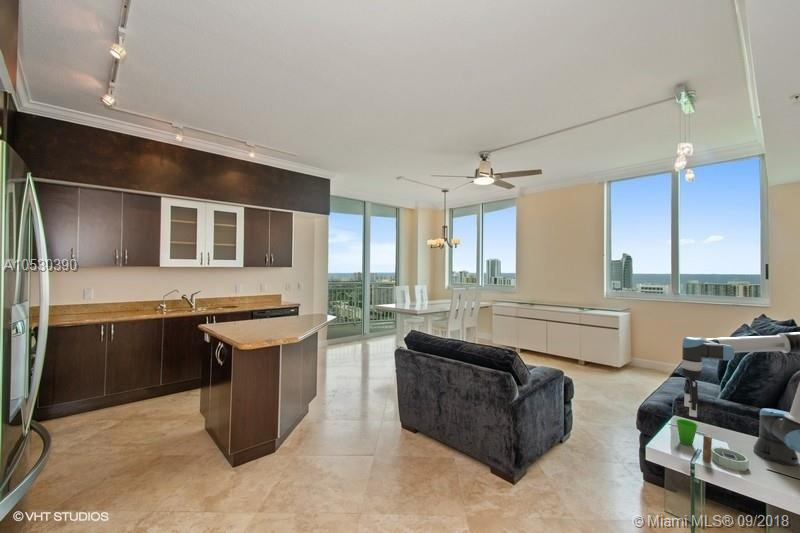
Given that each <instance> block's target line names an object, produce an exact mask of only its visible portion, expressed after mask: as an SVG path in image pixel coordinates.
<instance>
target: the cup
mask: <svg viewBox="0 0 800 533" xmlns="http://www.w3.org/2000/svg"><path fill="white" fill-rule="evenodd" d="M675 421H676V425H677V432H678V438H679V442H680V443H681V444H682V445H685V446H693V444H694V440H695V437H696V433H697V430H698V427H699V424H698V423H697V422H694V421H692V420H688V419H686V418H685V419H684V418H677V419H676V420H675Z"/></svg>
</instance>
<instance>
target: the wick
mask: <svg viewBox="0 0 800 533" xmlns="http://www.w3.org/2000/svg"><path fill="white" fill-rule="evenodd" d="M702 440H703V441H702V442H703V443H702V444H703V445H702V460H703V462H705V463H706V462H707V463H709V464H710V463H711V464H712V458H711V449H712V448H713V447H712V444H713V443H712V441H713V438H712V436H711V435H710V434H704V433H703V439H702Z"/></svg>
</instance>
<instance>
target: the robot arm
mask: <svg viewBox="0 0 800 533" xmlns="http://www.w3.org/2000/svg"><path fill="white" fill-rule="evenodd" d="M681 347H682V348H681V349H682V350H681V351H682V359H681V360H680V363H681V367H682V368H681V375H682V377H685V379H684V380H685V381H684V386H683V392H684V400H683V401H684V402H683V403H684V405H683V406H684V407H686V408H689V412H688V415H689V417H693V418H698V405H699V393H698V391H699V390H698V382H697V381H696V380H699V379H702V374H703V372H702V369H703V359H710V360H721V361H732V360H734V358H735V353H757V352H760V353H762V352H766V353H767V352H782V353H784V354H797V355H800V331H795V332H794V331H793V332H779V333H777V334H775V335H759V336H758V335H757V336H736V337H735V336H734V337H731V336H730V337H716V338H715V337H712V338H708V337H707V338H706V337H701V336H699V337H698V336H697V337H693V336H687V337H683V340H682V346H681ZM758 429H759V430H758V437H757V439H756V442H755V443H754V444H753V452H754V454H756V455H757V456H759V457H761V458H763V459H765V460H768V461H771V462H773V463H777V464H782V465H785V466H797V465H796V464H798V465H799V457H798V454H800V382H799V383H798V386H797V388H796V393H795V396H794V399H793V401H792V405H791V408H790V410H789V411H784V410H779V409H775V408H761V409H760V411H759V428H758ZM797 453H798V454H797Z"/></svg>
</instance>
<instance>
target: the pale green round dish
mask: <svg viewBox="0 0 800 533" xmlns="http://www.w3.org/2000/svg"><path fill="white" fill-rule="evenodd" d="M711 461H713V462H715V463H716V464H718V465H719V466H722V467H725V468H727V469H731V470H735V471H747V470H749V464H750V463H749V462H750V461H749V458H748V457H747V456H746V455H744V454H742V453H741V452H738V451H736V450H732V449H730V448H724V447H718V446H714V447H711Z"/></svg>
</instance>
